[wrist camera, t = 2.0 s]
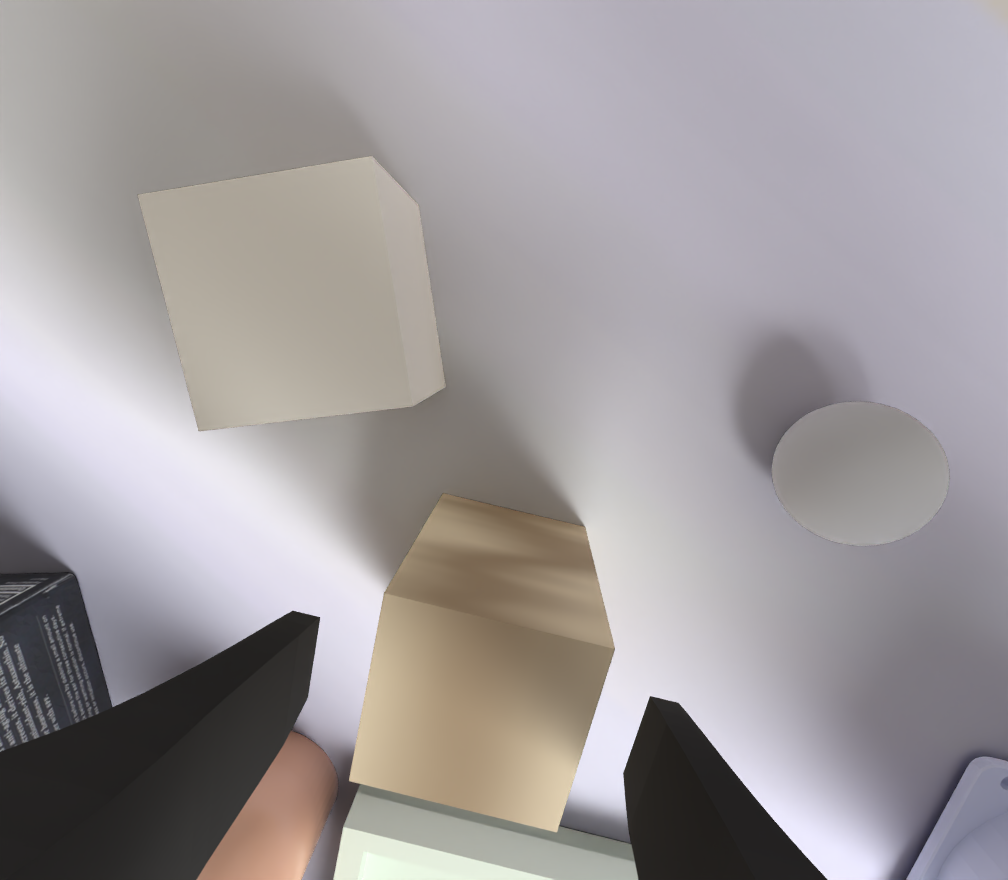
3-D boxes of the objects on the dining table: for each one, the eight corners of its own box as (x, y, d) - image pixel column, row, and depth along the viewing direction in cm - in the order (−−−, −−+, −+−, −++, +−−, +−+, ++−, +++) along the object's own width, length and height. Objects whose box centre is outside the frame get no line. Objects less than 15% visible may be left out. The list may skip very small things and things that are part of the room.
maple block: (585, 526, 15) (615, 649, 9) (549, 651, 16) (557, 832, 10) (443, 492, 15) (383, 592, 9) (417, 618, 16) (349, 780, 10)
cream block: (420, 206, 14) (372, 156, 10) (446, 386, 15) (413, 406, 11) (249, 232, 14) (137, 195, 10) (286, 405, 15) (198, 431, 11)
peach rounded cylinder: (346, 743, 17) (273, 903, 13) (329, 838, 18) (255, 1020, 14) (227, 714, 18) (108, 861, 13) (216, 810, 18) (102, 981, 14)
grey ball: (900, 409, 14) (1025, 436, 10) (851, 526, 14) (952, 589, 11) (773, 380, 14) (855, 396, 10) (731, 498, 15) (793, 552, 11)
